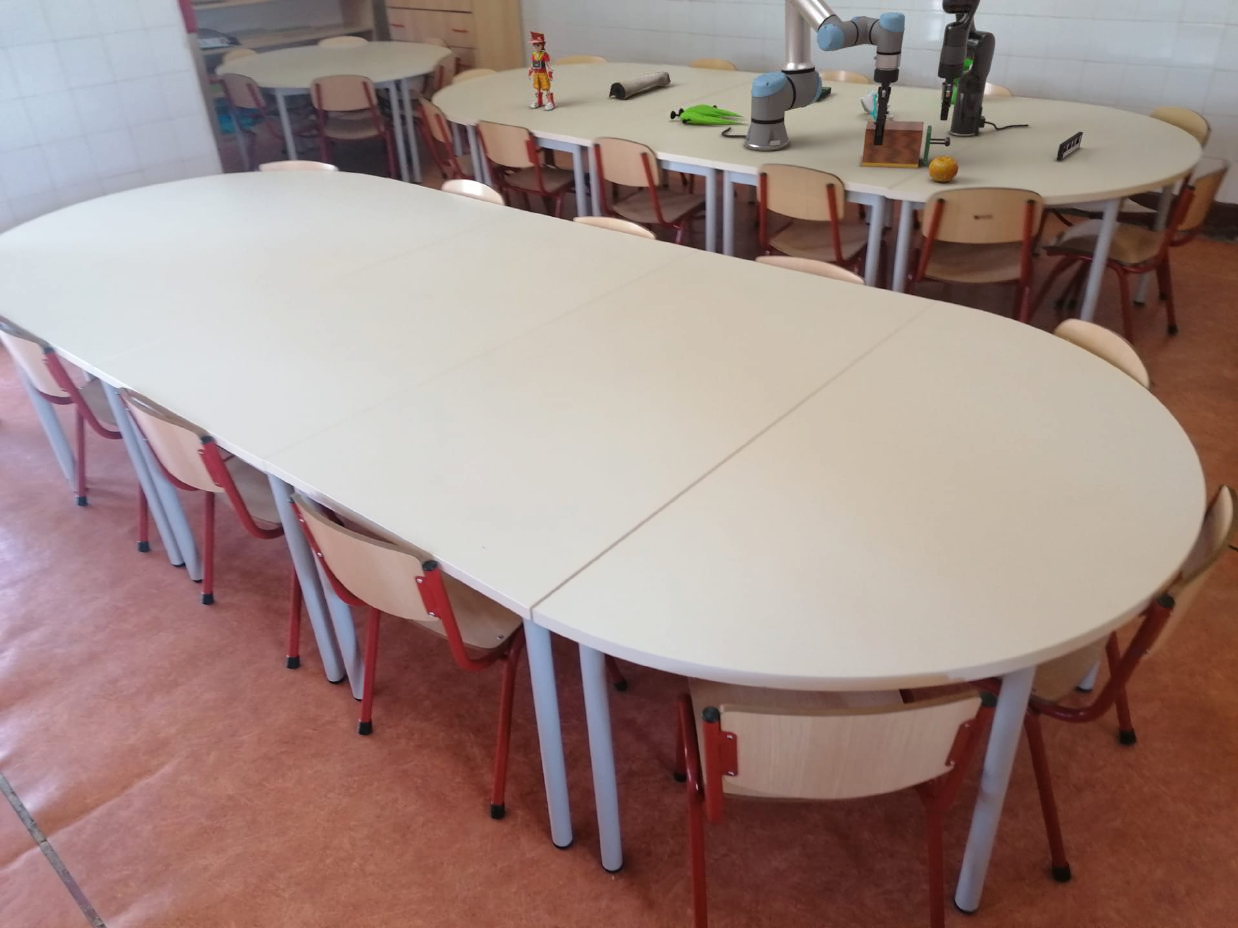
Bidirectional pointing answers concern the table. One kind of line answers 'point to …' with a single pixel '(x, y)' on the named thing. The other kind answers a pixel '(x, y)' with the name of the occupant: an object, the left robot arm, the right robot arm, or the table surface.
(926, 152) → the drawer
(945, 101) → the right robot arm
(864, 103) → the anatomical model
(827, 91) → the disk drive
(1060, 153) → the midi keyboard
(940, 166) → the fruit
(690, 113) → the toy
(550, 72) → the toy
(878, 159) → the cabinet
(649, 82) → the rolled mat
